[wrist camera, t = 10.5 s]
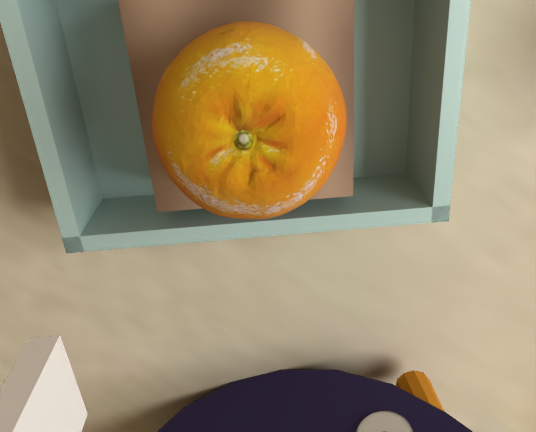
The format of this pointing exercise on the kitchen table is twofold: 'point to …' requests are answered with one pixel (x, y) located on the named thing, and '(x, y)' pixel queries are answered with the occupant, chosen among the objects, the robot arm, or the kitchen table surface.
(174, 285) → the kitchen table surface
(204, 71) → the fruit
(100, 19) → the tote
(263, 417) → the toy
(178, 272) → the kitchen table surface
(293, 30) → the walnut block
